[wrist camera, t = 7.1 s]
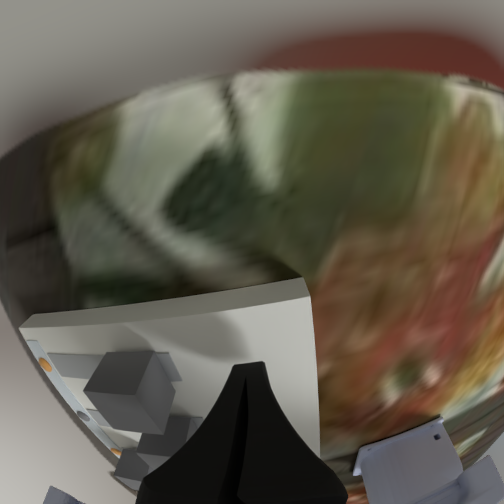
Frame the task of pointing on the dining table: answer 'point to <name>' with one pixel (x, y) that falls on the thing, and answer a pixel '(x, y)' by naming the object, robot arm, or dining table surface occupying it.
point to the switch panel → (189, 351)
